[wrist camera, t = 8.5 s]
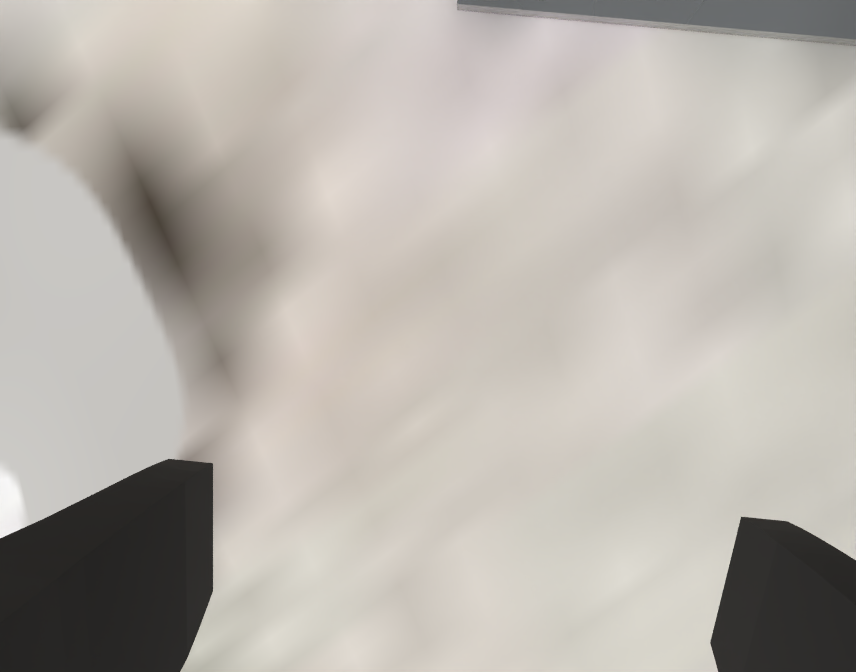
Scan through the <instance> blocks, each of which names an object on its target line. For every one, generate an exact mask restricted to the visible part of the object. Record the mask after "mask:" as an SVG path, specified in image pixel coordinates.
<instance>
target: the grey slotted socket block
mask: <svg viewBox="0 0 856 672" xmlns="http://www.w3.org/2000/svg"><path fill="white" fill-rule="evenodd" d="M457 9H458V10H463V11H474V12H485V13H496V14H508V15H519V16H530V17H541V18H552V19H563V20H575V21H586V22H597V23H608V24H619V25H631V26H642V27H653V28H664V29H675V30H686V31H698V32H709V33H720V34H731V35H742V36H754V37H765V38H776V39H787V40H798V41H809V42H821V43H832V44H843V45H854V46H856V0H458V1H457Z"/></svg>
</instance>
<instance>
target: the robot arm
mask: <svg viewBox="0 0 856 672" xmlns="http://www.w3.org/2000/svg"><path fill="white" fill-rule="evenodd" d="M212 592H213V463H204V462H194V461H184V460H174V459H168V460H165V461H162V462H160V463H157V464H155V465H152V466H151V467H148V468H146V469H144V470H142V471H140V472H137V473H135V474H133V475H131V476H129V477H127V478H125V479H123V480H121V481H119V482H117V483H115V484H113V485H111V486H109V487H107V488H105V489H103V490H101V491H99V492H97V493H95V494H94V495H91V496H89V497H87V498H85V499H83V500H81V501H79V502H77V503H75V504H73V505H71V506H69V507H67V508H65V509H63V510H61V511H59V512H57V513H55V514H53V515H51V516H49V517H47V518H45V519H43V520H40V521H38V522H36V523H34V524H31V525H29V526H27V527H25V528H23V529H20V530H18V531H16V532H14V533H11V534H9V535H7V536H5V537H3V538H0V672H180V671H181V669H182V667H183V665H184V663H185V661H186V659H187V657H188V655H189V652H190V650H191V647H192V645H193V642H194V640H195V637H196V635H197V632H198V630H199V627H200V624H201V622H202V619H203V616H204V614H205V611H206V608H207V606H208V603H209V600H210V597H211V595H212ZM710 643H711V647H712V650H713V654H714V658H715V661H716V665H717V668H718V672H856V560H854V559H853V558H851V557H849V556H848V555H846V554H845V553H843V552H841V551H840V550H838V549H836V548H835V547H833V546H831V545H830V544H828V543H826V542H825V541H823V540H821V539H820V538H818V537H816V536H814V535H813V534H811V533H809V532H807V531H805V530H803V529H802V528H800V527H798V526H795V525H793V524H791V523H789V522H787V521H778V520H768V519H758V518H748V517H741V520H740V524H739V528H738V532H737V536H736V540H735V544H734V549H733V553H732V557H731V561H730V565H729V569H728V573H727V577H726V581H725V585H724V589H723V593H722V598H721V602H720V606H719V610H718V614H717V618H716V622H715V626H714V630H713V634H712V638H711V642H710Z"/></svg>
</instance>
